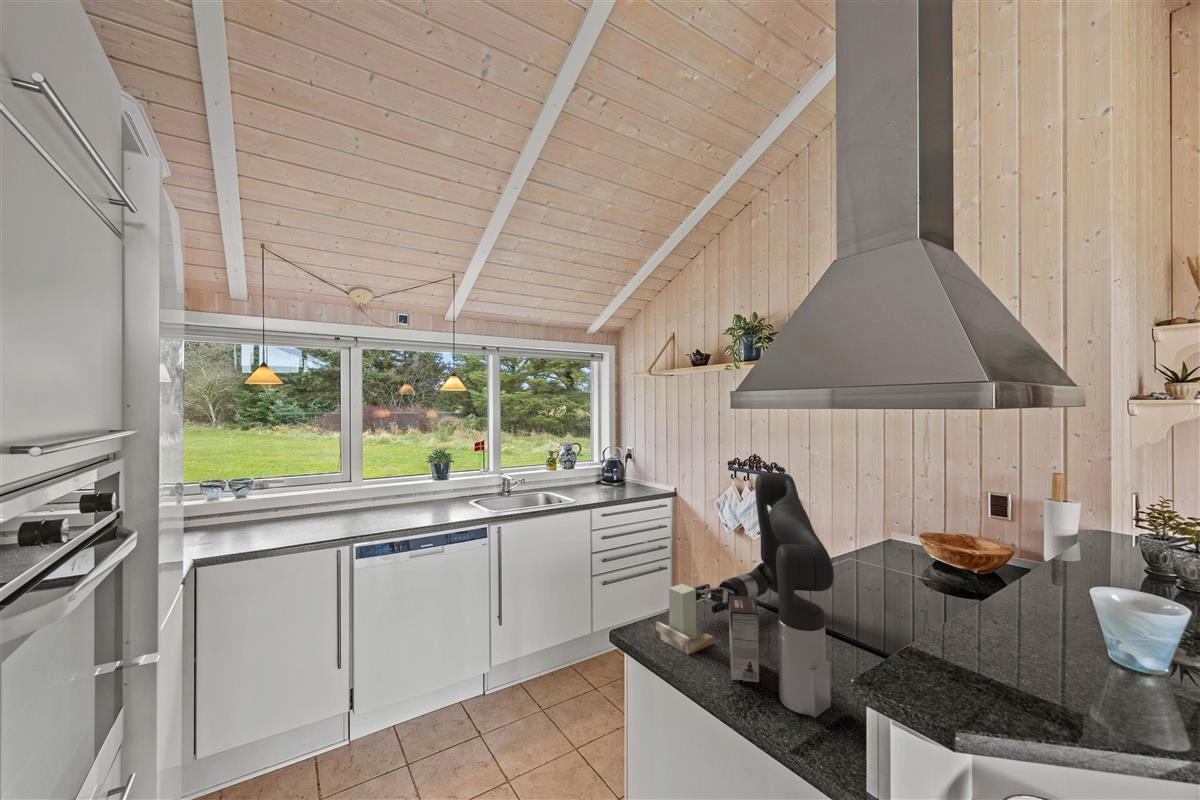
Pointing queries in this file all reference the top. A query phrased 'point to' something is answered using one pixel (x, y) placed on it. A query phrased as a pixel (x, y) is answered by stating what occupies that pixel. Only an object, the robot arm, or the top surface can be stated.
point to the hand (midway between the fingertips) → (700, 604)
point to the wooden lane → (682, 639)
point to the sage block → (683, 610)
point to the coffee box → (744, 638)
